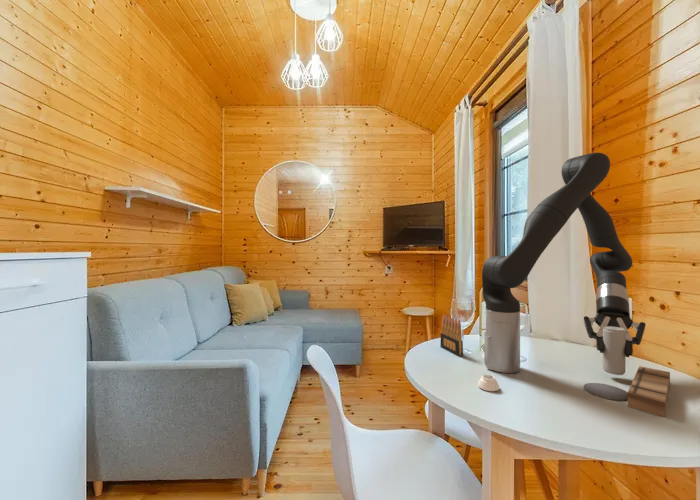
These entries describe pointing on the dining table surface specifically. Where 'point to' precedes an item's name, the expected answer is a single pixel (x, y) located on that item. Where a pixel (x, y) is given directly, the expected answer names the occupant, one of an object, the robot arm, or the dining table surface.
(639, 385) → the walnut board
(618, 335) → the beverage can
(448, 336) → the ammunition clip
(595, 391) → the end pad
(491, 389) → the small beige bowl
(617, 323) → the robot arm
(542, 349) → the dining table surface
